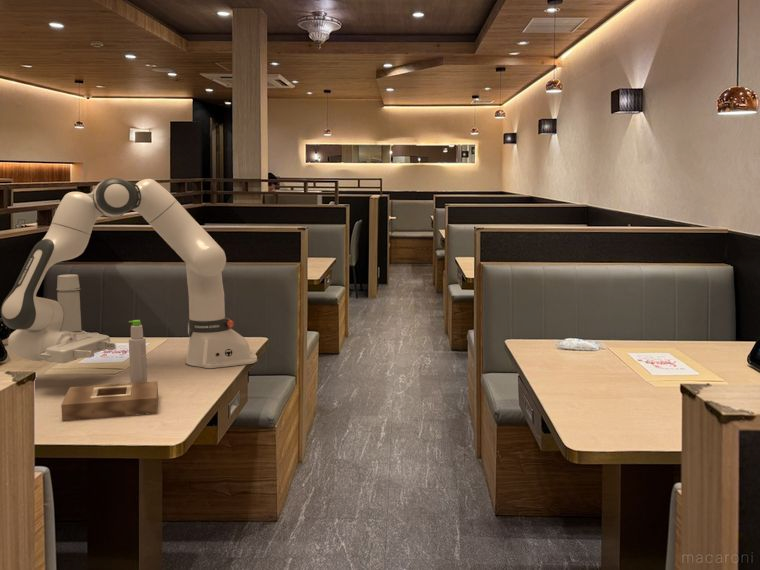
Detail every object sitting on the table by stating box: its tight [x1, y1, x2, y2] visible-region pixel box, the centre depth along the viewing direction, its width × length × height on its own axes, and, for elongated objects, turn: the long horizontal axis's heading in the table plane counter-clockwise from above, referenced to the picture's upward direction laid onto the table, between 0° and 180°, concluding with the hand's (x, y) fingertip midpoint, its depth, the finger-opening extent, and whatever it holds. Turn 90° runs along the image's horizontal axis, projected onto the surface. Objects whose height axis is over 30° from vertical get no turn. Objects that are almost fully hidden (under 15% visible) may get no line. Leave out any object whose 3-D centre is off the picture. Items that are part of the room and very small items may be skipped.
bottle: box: [128, 319, 148, 383], centre depth 202 cm, size 4×4×20 cm
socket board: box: [60, 380, 159, 421], centre depth 189 cm, size 22×16×4 cm
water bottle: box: [55, 273, 83, 332], centre depth 257 cm, size 9×8×25 cm
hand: (103, 350), depth 205 cm, fingers open, 8 cm apart
